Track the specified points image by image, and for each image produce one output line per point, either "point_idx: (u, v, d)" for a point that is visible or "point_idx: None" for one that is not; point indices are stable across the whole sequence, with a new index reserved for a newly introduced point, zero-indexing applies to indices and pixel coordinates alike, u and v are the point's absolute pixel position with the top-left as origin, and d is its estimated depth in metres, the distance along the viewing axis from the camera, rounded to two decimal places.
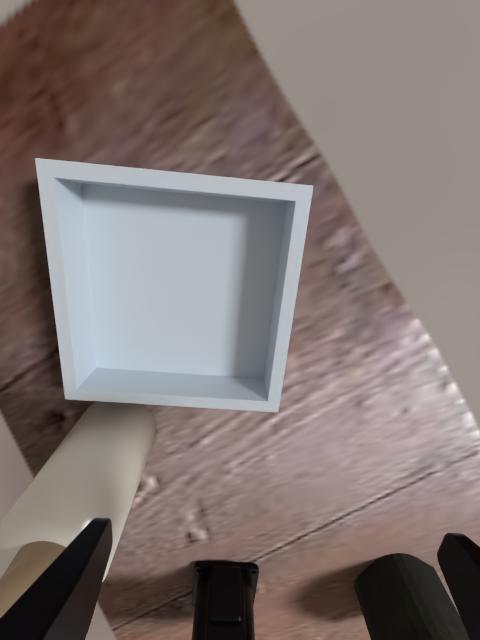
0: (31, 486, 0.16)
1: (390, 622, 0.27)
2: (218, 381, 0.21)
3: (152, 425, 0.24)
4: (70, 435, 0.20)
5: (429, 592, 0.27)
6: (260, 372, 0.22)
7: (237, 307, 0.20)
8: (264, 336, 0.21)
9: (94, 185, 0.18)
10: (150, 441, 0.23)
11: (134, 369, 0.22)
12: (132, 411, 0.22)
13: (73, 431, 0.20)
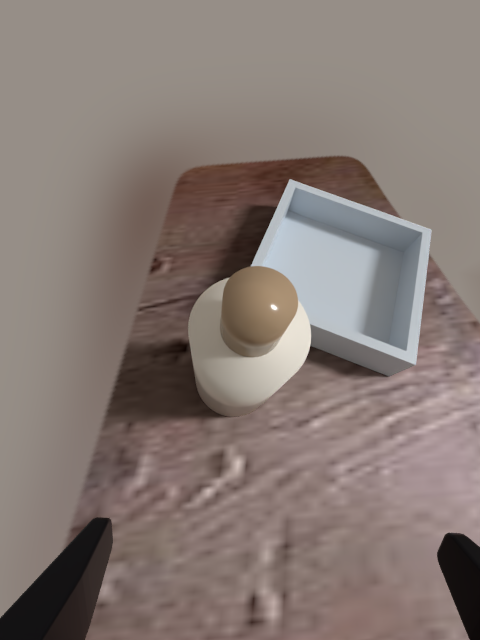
0: None
1: None
2: None
3: None
4: None
5: None
6: None
7: (368, 299, 0.27)
8: (387, 326, 0.26)
9: (295, 212, 0.30)
10: None
11: None
12: None
13: None
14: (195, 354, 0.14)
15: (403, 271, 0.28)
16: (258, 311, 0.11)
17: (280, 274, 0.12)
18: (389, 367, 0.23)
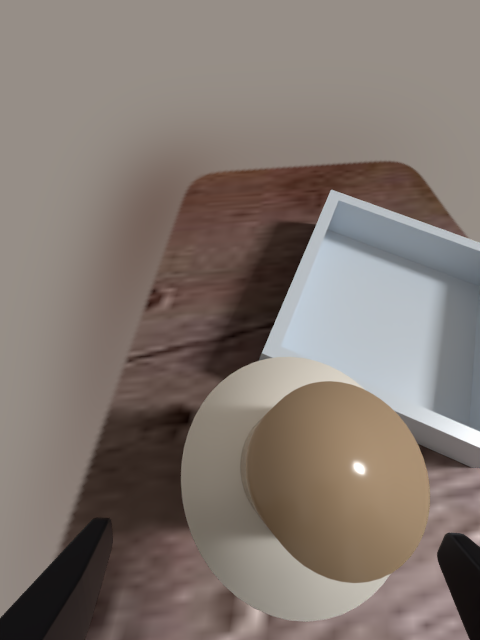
0: None
1: None
2: None
3: None
4: None
5: None
6: None
7: (436, 351, 0.20)
8: (466, 392, 0.19)
9: (335, 231, 0.24)
10: None
11: None
12: None
13: None
14: (192, 530, 0.07)
15: None
16: (338, 511, 0.05)
17: (380, 401, 0.06)
18: (478, 461, 0.16)
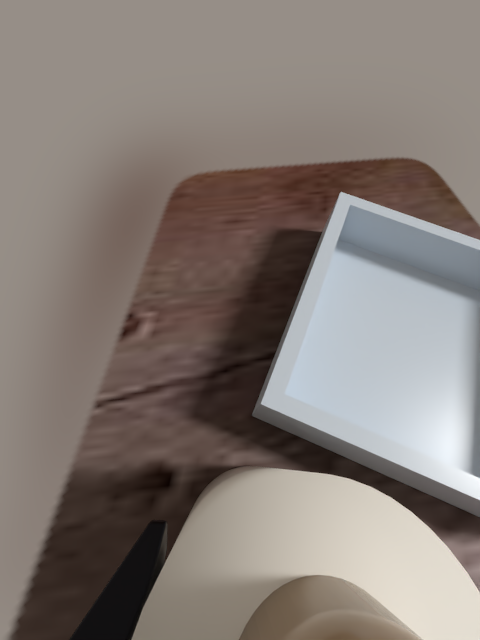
0: (252, 474, 0.07)
1: None
2: None
3: None
4: (244, 469, 0.11)
5: None
6: None
7: (471, 386, 0.17)
8: None
9: (344, 240, 0.20)
10: None
11: None
12: None
13: (244, 469, 0.11)
14: None
15: None
16: None
17: None
18: None
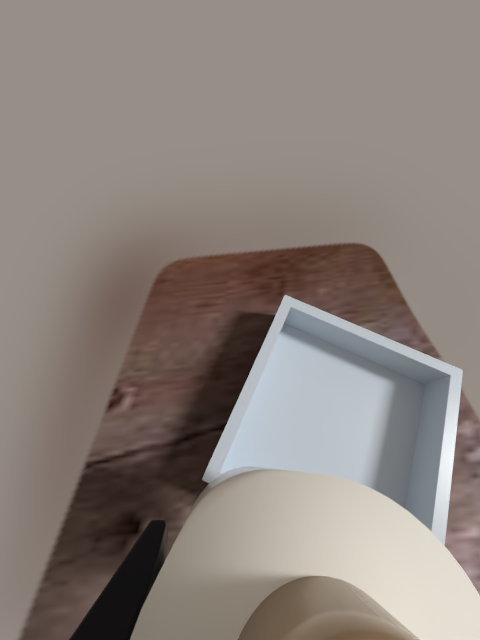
0: (251, 475, 0.07)
1: None
2: None
3: None
4: (244, 469, 0.11)
5: None
6: None
7: (377, 457, 0.21)
8: (401, 501, 0.20)
9: (291, 326, 0.25)
10: None
11: None
12: None
13: (243, 469, 0.11)
14: None
15: (424, 418, 0.22)
16: None
17: None
18: None
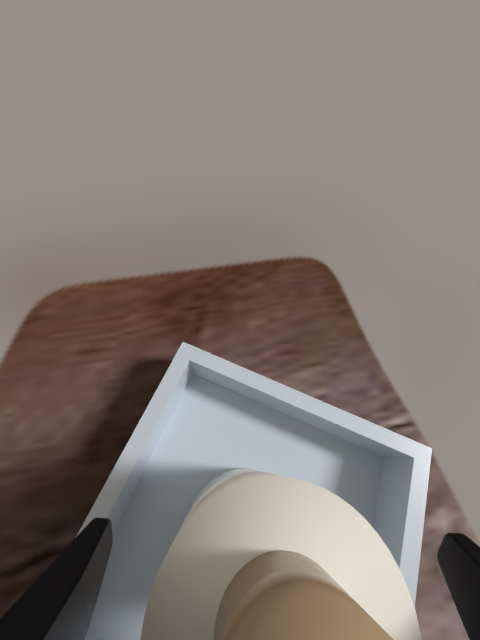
0: (240, 477, 0.09)
1: None
2: None
3: None
4: (237, 472, 0.13)
5: None
6: None
7: None
8: None
9: (204, 379, 0.18)
10: None
11: None
12: None
13: (236, 471, 0.13)
14: None
15: (379, 515, 0.16)
16: None
17: None
18: None
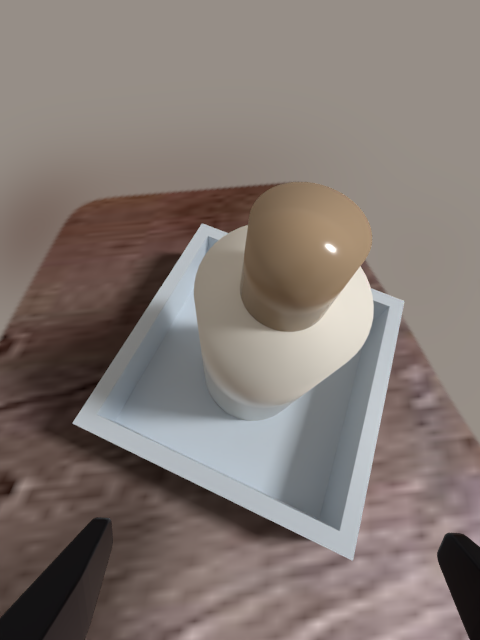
0: None
1: None
2: (262, 492, 0.15)
3: None
4: None
5: None
6: (316, 506, 0.16)
7: (306, 403, 0.18)
8: (330, 451, 0.17)
9: None
10: None
11: (158, 440, 0.17)
12: None
13: None
14: (202, 324, 0.09)
15: (362, 359, 0.19)
16: (306, 246, 0.07)
17: (340, 194, 0.08)
18: None
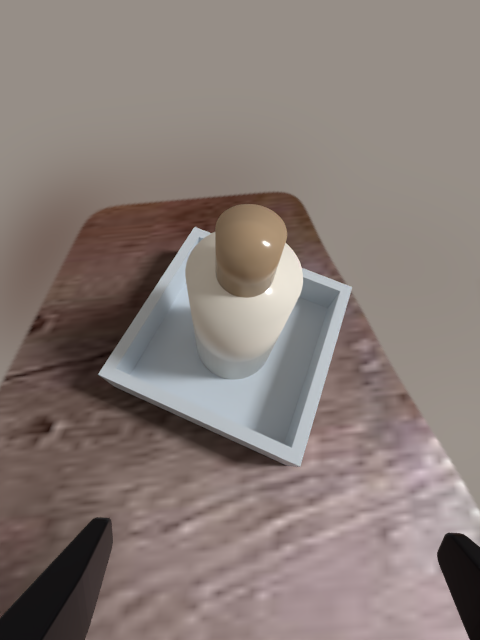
0: None
1: None
2: None
3: None
4: None
5: None
6: (280, 440, 0.21)
7: (275, 367, 0.23)
8: (292, 402, 0.22)
9: None
10: None
11: None
12: None
13: None
14: (191, 292, 0.14)
15: (320, 333, 0.24)
16: (248, 241, 0.12)
17: (271, 211, 0.13)
18: (280, 460, 0.20)
